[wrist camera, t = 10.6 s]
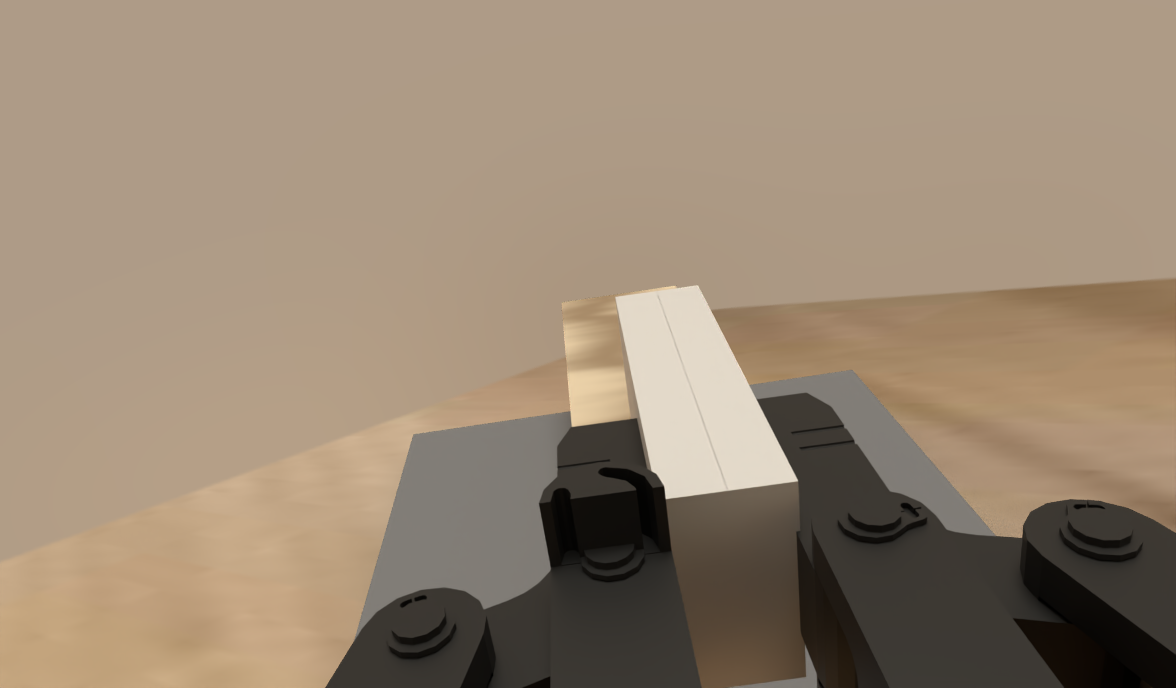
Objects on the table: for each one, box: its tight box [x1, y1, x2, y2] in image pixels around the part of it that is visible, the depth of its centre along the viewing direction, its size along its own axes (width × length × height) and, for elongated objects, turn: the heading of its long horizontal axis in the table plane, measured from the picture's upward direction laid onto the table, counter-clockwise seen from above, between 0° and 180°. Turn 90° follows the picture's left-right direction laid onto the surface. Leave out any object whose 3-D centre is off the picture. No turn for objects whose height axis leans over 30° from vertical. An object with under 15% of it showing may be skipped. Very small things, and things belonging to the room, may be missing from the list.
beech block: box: [562, 286, 676, 427], centre depth 30 cm, size 5×5×14 cm
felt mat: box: [354, 370, 995, 688], centre depth 27 cm, size 20×22×1 cm
